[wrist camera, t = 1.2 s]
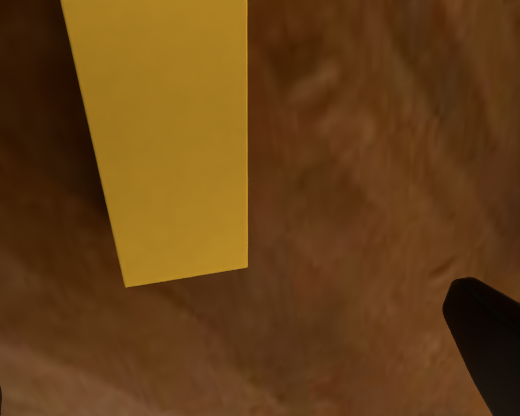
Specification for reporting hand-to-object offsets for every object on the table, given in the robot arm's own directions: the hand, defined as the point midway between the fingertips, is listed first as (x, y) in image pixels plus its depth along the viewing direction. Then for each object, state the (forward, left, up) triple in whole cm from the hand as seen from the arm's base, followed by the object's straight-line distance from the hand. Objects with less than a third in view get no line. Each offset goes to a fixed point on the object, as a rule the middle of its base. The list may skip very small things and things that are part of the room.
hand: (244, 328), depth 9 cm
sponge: (-1, -1, -12) cm, 12 cm away
